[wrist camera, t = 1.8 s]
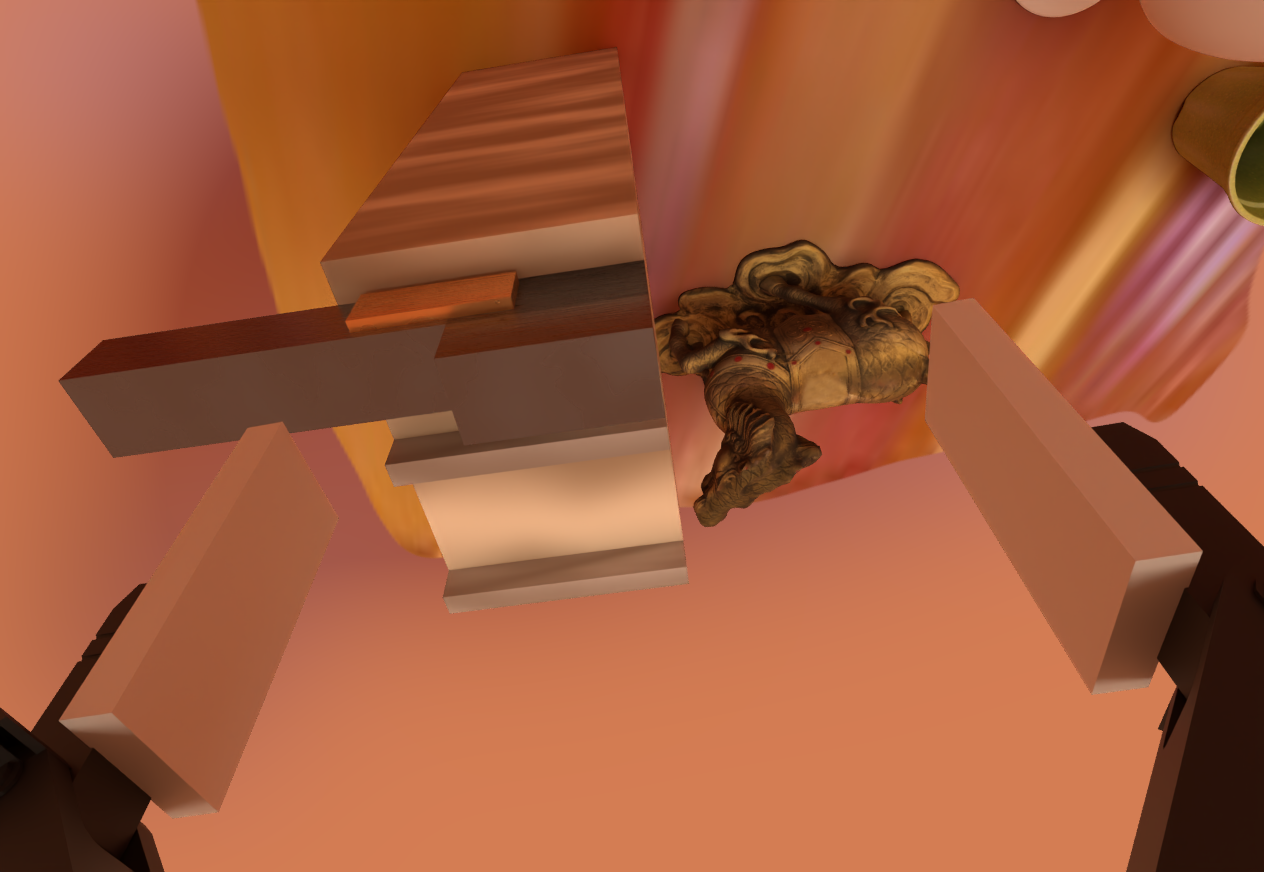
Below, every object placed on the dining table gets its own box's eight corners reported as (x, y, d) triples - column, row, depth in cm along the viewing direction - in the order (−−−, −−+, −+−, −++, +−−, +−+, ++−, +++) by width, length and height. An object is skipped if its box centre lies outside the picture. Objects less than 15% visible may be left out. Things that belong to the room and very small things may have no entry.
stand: (462, 72, 47) (304, 282, 22) (616, 47, 47) (639, 232, 21) (519, 298, 57) (456, 628, 31) (648, 279, 56) (691, 599, 31)
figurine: (626, 269, 56) (638, 426, 39) (963, 210, 54) (1122, 348, 38) (652, 408, 63) (671, 587, 47) (948, 359, 61) (1075, 528, 45)
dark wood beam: (96, 329, 24) (6, 406, 20) (642, 247, 23) (650, 314, 19) (150, 413, 26) (78, 498, 22) (655, 342, 25) (665, 418, 21)
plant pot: (1124, 109, 50) (1209, 144, 43) (1272, 1, 46) (1392, 21, 40) (1170, 209, 54) (1254, 256, 47) (1309, 118, 51) (1422, 154, 44)
